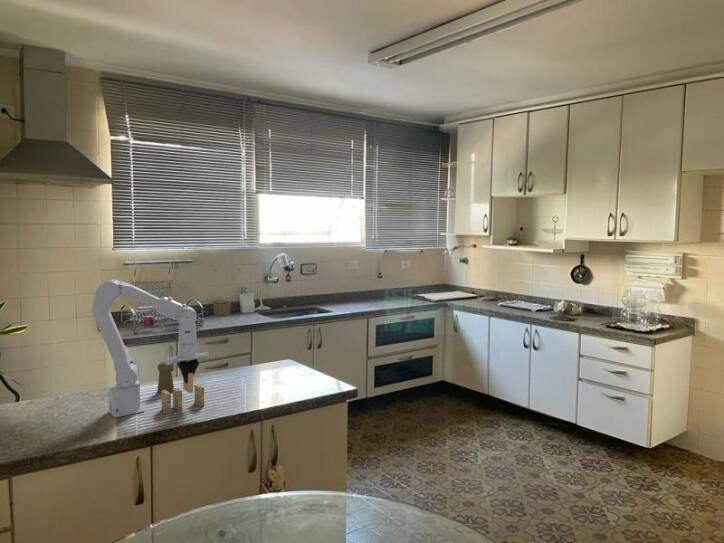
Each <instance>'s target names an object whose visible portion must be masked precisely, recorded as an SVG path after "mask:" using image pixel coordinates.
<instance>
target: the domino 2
mask: <svg viewBox="0 0 724 543" xmlns="http://www.w3.org/2000/svg"><path fill="white" fill-rule="evenodd" d="M182 383H183V385H182V386H183V387H182V389H183V390H184V391H186V392H188V394H191V393H194V377H193V373H191V372H190V371H188V382H187V383H185V382H184V379H183V378H182Z"/></svg>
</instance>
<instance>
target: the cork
mask: <svg viewBox="0 0 724 543" xmlns="http://www.w3.org/2000/svg"><path fill="white" fill-rule="evenodd" d="M173 369H174V366H173V364H171V365H167V364H166V361H163V362H159V364H158V365H157V370H158V372H159V375H158V382H157V392H156V394H159V395H161V391H162V390H166V391H168V392H169V393H171V394H173V388H175V387H174V380H173V374H172V371H173Z"/></svg>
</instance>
